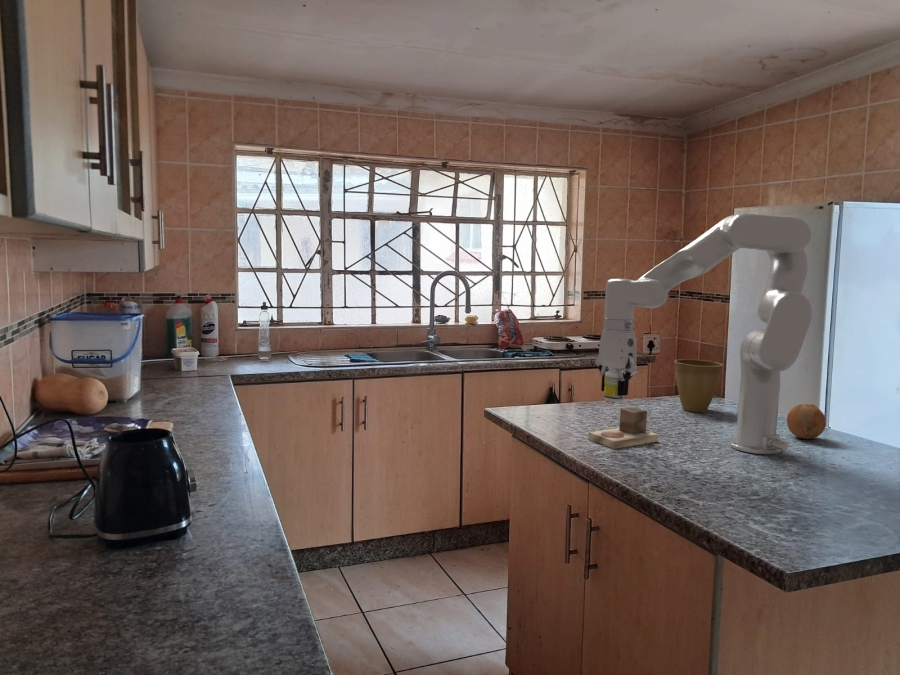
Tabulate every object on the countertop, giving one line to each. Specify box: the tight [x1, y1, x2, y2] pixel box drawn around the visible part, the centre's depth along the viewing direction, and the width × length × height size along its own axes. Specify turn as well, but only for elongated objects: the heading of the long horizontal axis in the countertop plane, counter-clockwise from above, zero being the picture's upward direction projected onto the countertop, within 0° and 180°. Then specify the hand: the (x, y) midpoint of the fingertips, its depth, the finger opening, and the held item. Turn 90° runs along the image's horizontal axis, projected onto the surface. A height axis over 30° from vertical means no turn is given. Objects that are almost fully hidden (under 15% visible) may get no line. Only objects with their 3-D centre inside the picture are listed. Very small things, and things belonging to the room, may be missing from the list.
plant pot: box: [674, 358, 724, 413], centre depth 220 cm, size 15×15×16 cm
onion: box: [786, 403, 827, 440], centre depth 188 cm, size 10×10×10 cm
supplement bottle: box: [603, 366, 626, 402], centre depth 178 cm, size 5×5×10 cm
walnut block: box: [618, 406, 648, 434], centre depth 183 cm, size 5×5×6 cm
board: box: [587, 427, 659, 450], centre depth 182 cm, size 10×16×2 cm, turn 120°
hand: (614, 392), depth 178 cm, fingers closed on supplement bottle, 5 cm apart
